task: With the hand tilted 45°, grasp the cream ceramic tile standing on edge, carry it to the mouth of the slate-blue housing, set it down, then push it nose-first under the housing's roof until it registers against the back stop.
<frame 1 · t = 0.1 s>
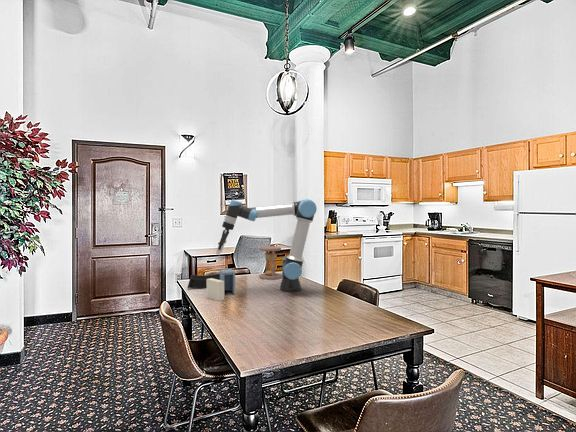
hand: (218, 253, 242), 28 cm above the table, tool tilted 20°, fingers open, 13 cm apart
magazine: (209, 288, 263), on the table
hourglass: (270, 277, 301), on the table
housing: (227, 292, 248), on the table
tile: (215, 298, 233), on the table
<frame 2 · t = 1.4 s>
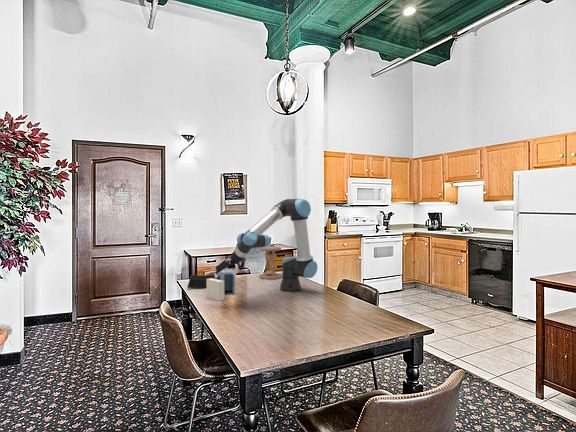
hand: (224, 275, 227), 16 cm above the table, tool tilted 45°, fingers open, 13 cm apart
nothing on the table moved.
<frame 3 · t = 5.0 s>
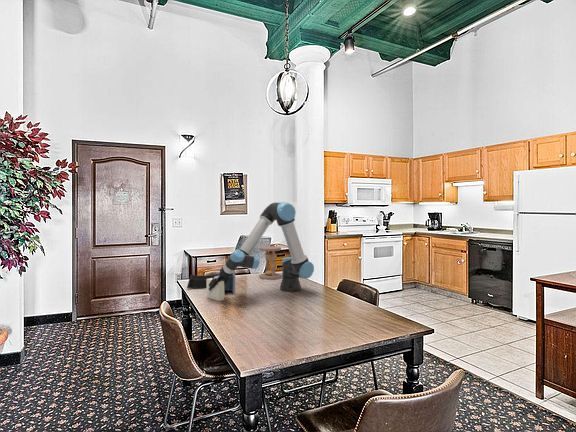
hand: (211, 291, 235), 4 cm above the table, tool tilted 45°, fingers closed on tile, 4 cm apart
tile: (215, 298, 233), on the table, touching gripper
everything else where it was.
when the fingers open (5 cm above the table, at t = 10.0 s): tile drops 1 cm, on the table.
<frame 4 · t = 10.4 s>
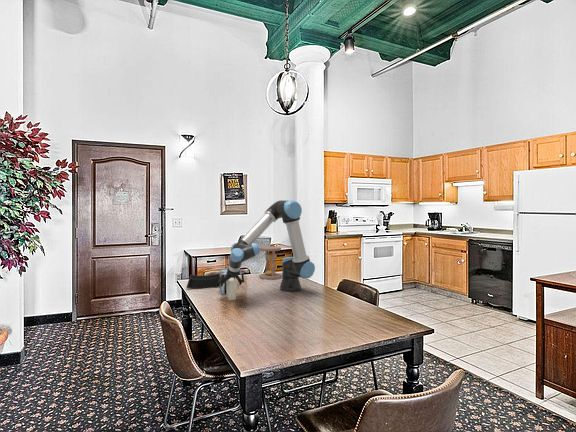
hand: (230, 287, 239), 5 cm above the table, tool tilted 45°, fingers open, 9 cm apart
tile: (230, 297, 236), on the table
everything else where it was.
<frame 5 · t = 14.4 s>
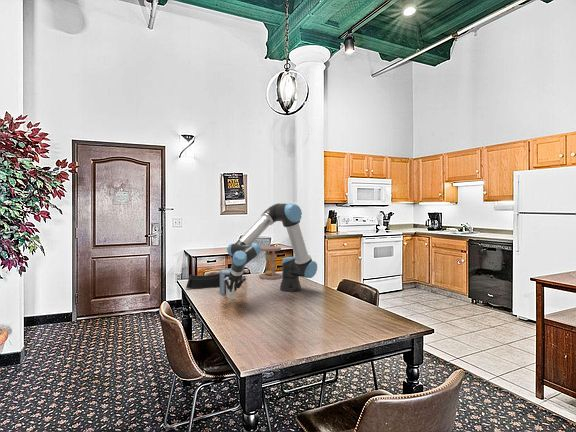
hand: (231, 293, 229), 4 cm above the table, tool tilted 45°, fingers closed
tile: (230, 297, 237), on the table, touching gripper
everything else where it was.
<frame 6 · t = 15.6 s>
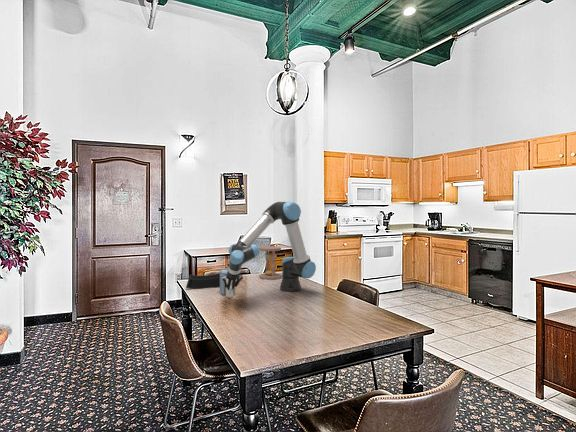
hand: (229, 291, 236), 4 cm above the table, tool tilted 45°, fingers closed
tile: (228, 294, 243), on the table, touching gripper
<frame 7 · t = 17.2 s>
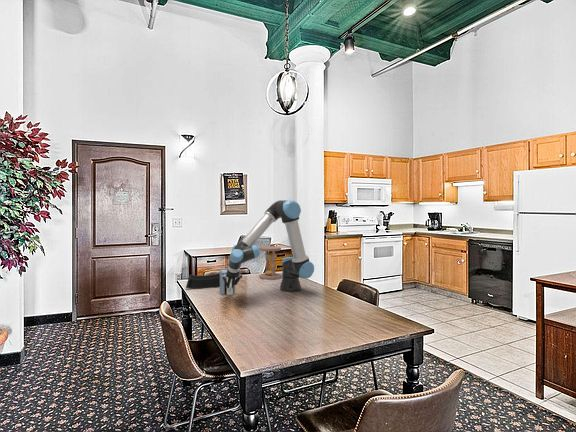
hand: (229, 290, 241), 4 cm above the table, tool tilted 45°, fingers closed
tile: (228, 292, 249), on the table, touching gripper, housing
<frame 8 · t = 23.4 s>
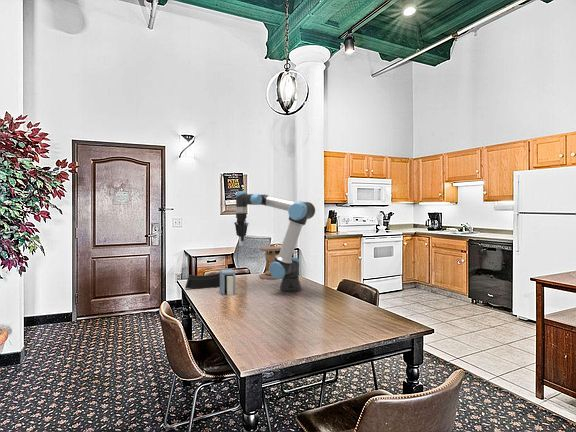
hand: (241, 245, 264), 30 cm above the table, tool pointing down, fingers closed
tile: (228, 292, 249), on the table
at the end: tile inside the target area on the housing (1.3 cm from its centre), point 0.0 cm above the housing's base; tile tilted 0°; the gripper is holding nothing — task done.
